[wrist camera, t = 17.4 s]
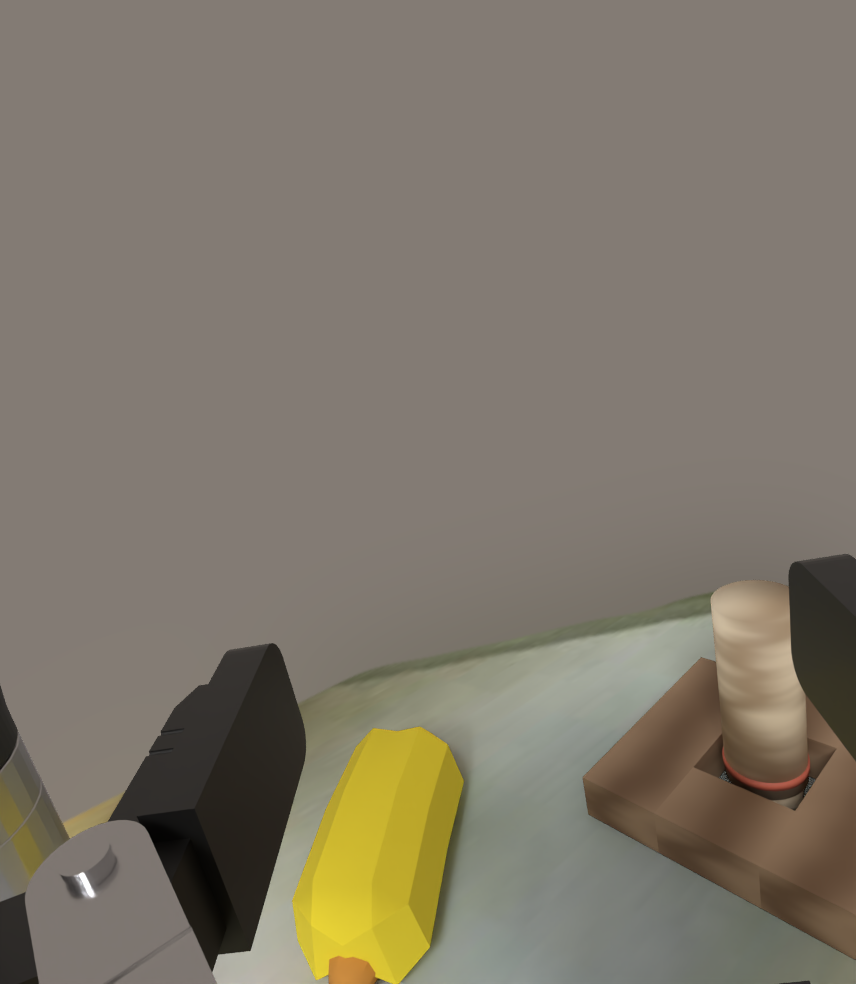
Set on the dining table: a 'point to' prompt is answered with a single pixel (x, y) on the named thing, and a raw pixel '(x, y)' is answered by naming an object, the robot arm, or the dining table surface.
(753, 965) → the dining table surface
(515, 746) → the dining table surface
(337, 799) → the low-poly banana
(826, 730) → the board
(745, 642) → the peg
